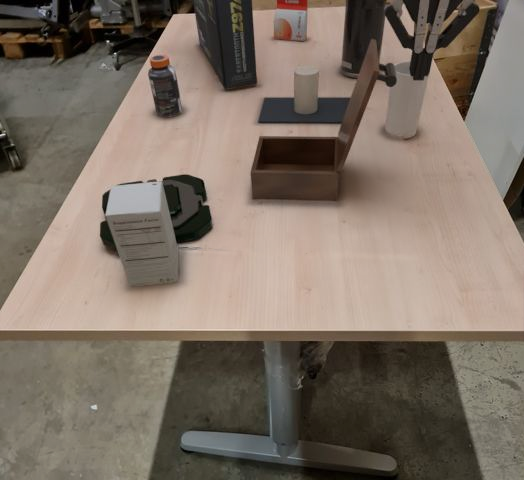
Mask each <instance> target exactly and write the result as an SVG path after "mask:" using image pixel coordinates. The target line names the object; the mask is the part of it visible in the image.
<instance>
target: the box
mask: <svg viewBox="0 0 524 480" xmlns="http://www.w3.org/2000/svg"><path fill="white" fill-rule="evenodd" d="M192 2H193V10H194V16H195V22H196V23H195V24H196V28H197V29H196V30H197V36H198V37H197V38H198V43H199V46H200V48H201V49H202V51H203V52H204V54H205V56H206V58H207V60H208V61H209V63H210V64H211V67H212V68H213V70H214V72H215V74H216V75H217V77H218V79H219V81H220V83H221V84H222V87H223V88H224V89H225V90H230V89H236V88H242V87H249V86H254V85H257V84H258V77H257V75H258V74H257V61H256V58H257V57H256V46H255V45H256V43H255V27H254V15H253V14H254V11H253V0H192Z"/></svg>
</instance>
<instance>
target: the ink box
mask: <svg viewBox="0 0 524 480" xmlns="http://www.w3.org/2000/svg"><path fill="white" fill-rule="evenodd" d="M308 10H309V9H308V0H276V7H275V11H274V17H273V39H277V40H286V41H287V40H288V41H298V42H304V41H306V40H307V37H308V36H307V35H308V13H309V12H308Z"/></svg>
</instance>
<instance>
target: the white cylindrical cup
mask: <svg viewBox="0 0 524 480" xmlns="http://www.w3.org/2000/svg"><path fill="white" fill-rule="evenodd" d="M410 61H411V60H407V61H400V62H396V63H395V64H394V66H395V72H396V78H397V82H396V84H395V85H394V86H393V87H389V92H388V93H389V94H388V101H387V107H386V108H387V109H386V116H385V117H386V118H385V125H384V130H385V131H386V132H387V133H388V134H391V135H393V136H397V137H399V136H400V137H402V139H403V140H406V139H410V138H413V137H414V136H415V135H416V134H417V130H418V126H419V122H420V118H421V117H420V116H421V114H422V113H421V112H422V107H423V103H424V100H425V94H426V89H427V86H428V82H429V76H430V74H429V75H428V76H424V80H423V81H413V76H411V75H410V70H409V67H410Z"/></svg>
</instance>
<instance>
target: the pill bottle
mask: <svg viewBox="0 0 524 480" xmlns="http://www.w3.org/2000/svg"><path fill="white" fill-rule="evenodd" d="M149 63H150V68H149V69H148V72H147V75H148V80H149V85H150V90H151V94H152V98H153V103H154V108H155V112H156V115H158V117H162V118H171V117H172V118H173V117H176V116H178V115H180V114H181V113H182V112H183V107H182V106H183V105H182V99H181V94H180V89H179V83H178V82H179V81H178V77H177V71H176V69H175V67H173V66H172V65H171V62H170V57H169V55H167V54H155V55H153V56H150V58H149Z"/></svg>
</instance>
